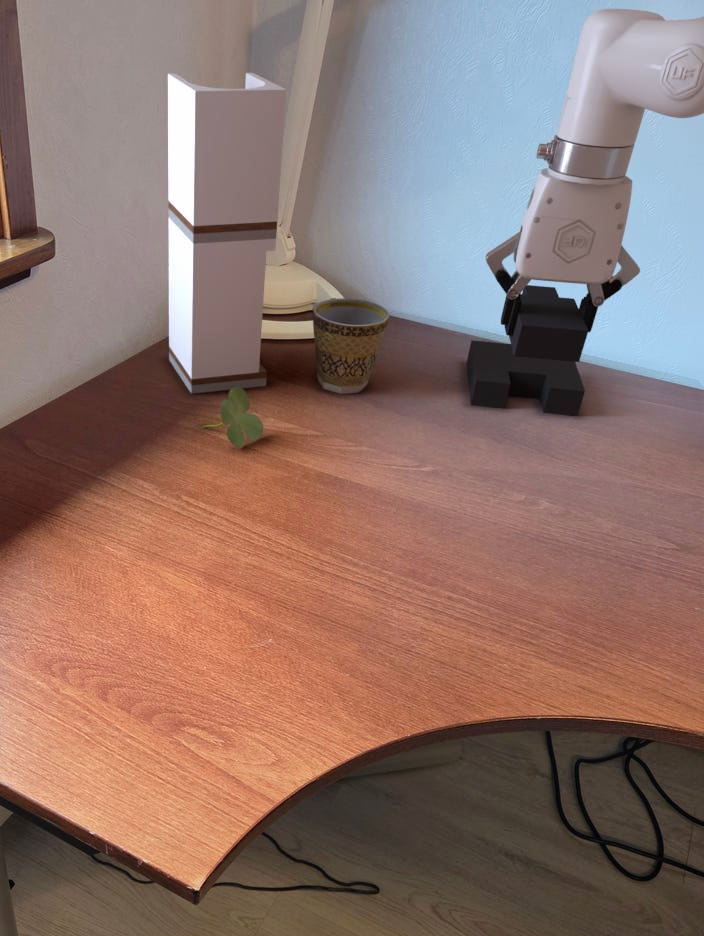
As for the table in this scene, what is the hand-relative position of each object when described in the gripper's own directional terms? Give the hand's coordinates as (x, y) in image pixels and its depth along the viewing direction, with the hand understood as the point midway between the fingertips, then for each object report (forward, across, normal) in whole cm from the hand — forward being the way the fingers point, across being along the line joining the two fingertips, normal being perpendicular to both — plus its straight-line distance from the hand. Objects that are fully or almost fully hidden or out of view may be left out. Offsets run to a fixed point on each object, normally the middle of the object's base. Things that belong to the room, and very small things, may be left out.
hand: (543, 333), depth 101 cm
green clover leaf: (+15, -34, -3) cm, 37 cm away
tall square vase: (+15, -39, +15) cm, 44 cm away
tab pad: (+1, 0, +2) cm, 2 cm away
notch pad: (+15, +3, +19) cm, 24 cm away
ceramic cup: (+15, -22, +16) cm, 31 cm away
